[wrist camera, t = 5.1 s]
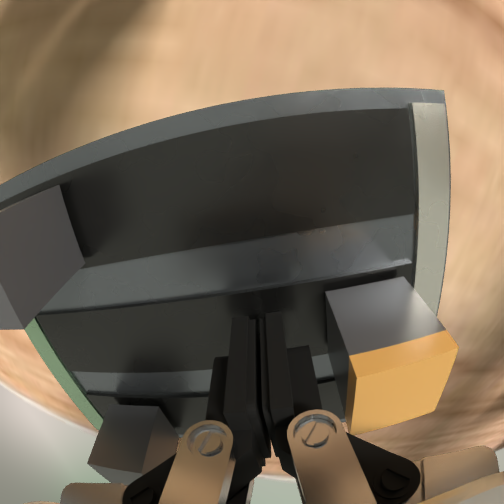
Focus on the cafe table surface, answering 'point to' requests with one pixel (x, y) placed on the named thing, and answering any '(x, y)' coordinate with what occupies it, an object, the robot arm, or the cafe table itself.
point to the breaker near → (34, 256)
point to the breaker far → (132, 442)
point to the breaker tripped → (386, 353)
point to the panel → (236, 236)
